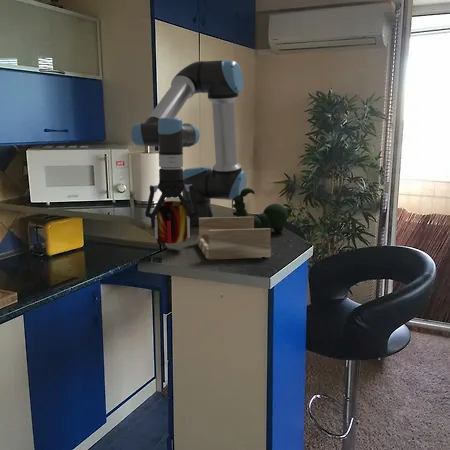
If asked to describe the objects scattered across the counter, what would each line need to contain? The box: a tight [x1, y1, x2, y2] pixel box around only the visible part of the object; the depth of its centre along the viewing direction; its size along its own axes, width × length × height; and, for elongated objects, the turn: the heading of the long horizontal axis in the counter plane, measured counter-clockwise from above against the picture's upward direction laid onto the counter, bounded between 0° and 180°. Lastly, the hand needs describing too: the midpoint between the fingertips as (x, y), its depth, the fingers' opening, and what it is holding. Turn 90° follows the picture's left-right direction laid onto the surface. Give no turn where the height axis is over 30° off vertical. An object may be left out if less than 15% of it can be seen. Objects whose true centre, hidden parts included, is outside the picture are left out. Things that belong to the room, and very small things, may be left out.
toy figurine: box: [232, 187, 293, 233], centre depth 198 cm, size 9×19×25 cm
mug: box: [155, 200, 188, 244], centre depth 169 cm, size 10×14×12 cm
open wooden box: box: [197, 216, 272, 261], centre depth 172 cm, size 22×20×9 cm
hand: (172, 237), depth 170 cm, fingers closed on mug, 10 cm apart
